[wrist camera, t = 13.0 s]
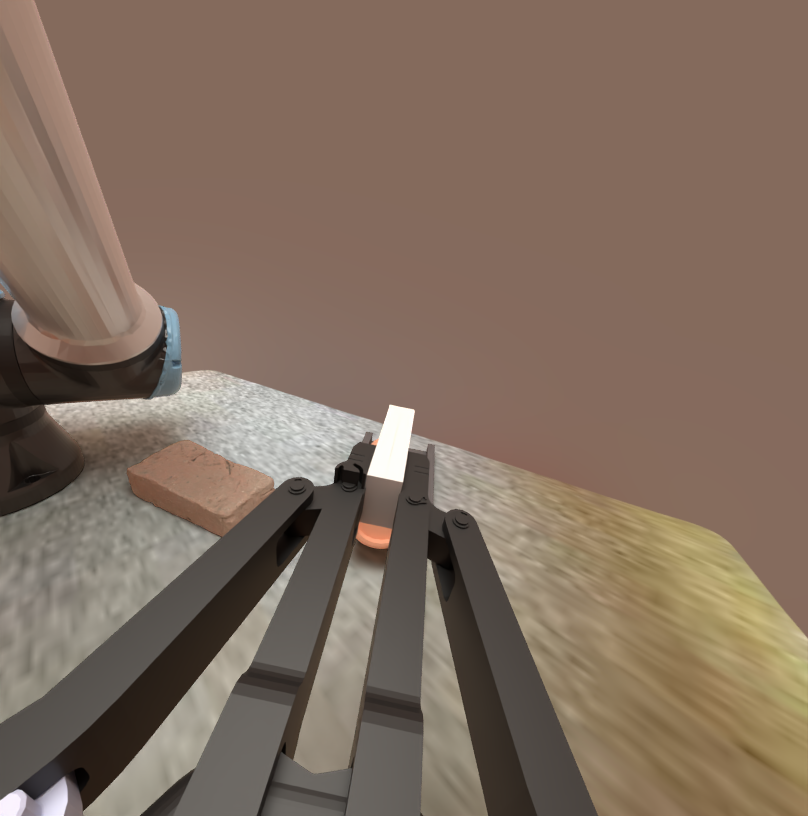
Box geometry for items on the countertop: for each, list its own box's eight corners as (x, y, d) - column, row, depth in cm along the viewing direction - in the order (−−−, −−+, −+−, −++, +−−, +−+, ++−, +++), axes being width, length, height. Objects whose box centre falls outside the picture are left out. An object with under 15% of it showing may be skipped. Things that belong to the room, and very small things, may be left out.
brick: (279, 500, 44) (278, 474, 42) (230, 545, 37) (227, 516, 35) (188, 462, 48) (184, 436, 46) (129, 496, 41) (120, 467, 39)
